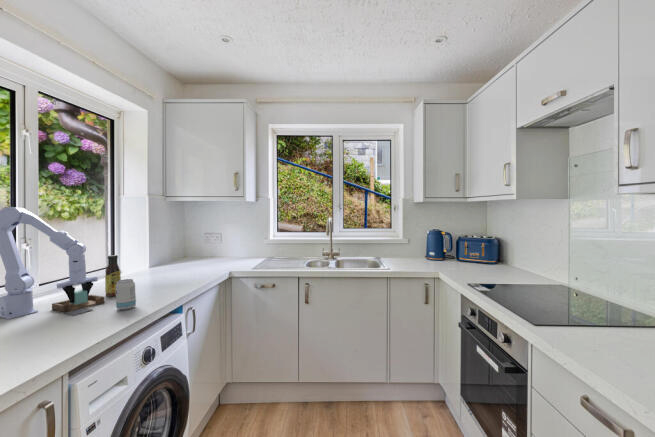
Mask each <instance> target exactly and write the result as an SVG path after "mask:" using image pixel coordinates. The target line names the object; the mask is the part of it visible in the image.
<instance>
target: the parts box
mask: <svg viewBox="0 0 655 437" xmlns="http://www.w3.org/2000/svg"><path fill="white" fill-rule="evenodd" d="M101 304H105V296H102V295H96V294H89V295H88V302H85V303H81V304H77V305H74V304H70V301H69V299H65V300H63V301H62V300H61V301H58V302H53V303H52V304H51V309H52V311H54V312H59V313H62V314H64V313H65V312H69V311H73V310H76V309H80V308H90V307H93V306H94V307H95V306H97V305H101Z"/></svg>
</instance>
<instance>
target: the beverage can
mask: <svg viewBox="0 0 655 437" xmlns="http://www.w3.org/2000/svg"><path fill="white" fill-rule="evenodd" d="M136 302H137V301H136V283H135V281H134V279H132V278H127V279H126V278H125V279H121V280H120V281H117V284H116V296H115V306H116V307H115V308H116V309H118V310H119V311H128V310H132V309H133V308H134V307H136V304H137V303H136Z"/></svg>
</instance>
